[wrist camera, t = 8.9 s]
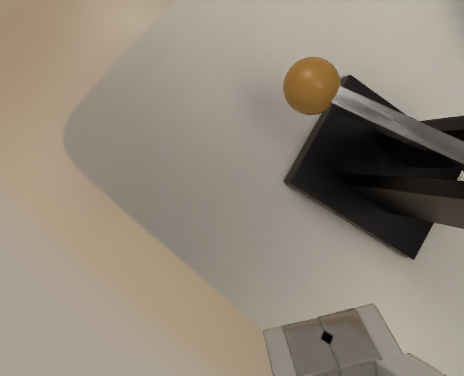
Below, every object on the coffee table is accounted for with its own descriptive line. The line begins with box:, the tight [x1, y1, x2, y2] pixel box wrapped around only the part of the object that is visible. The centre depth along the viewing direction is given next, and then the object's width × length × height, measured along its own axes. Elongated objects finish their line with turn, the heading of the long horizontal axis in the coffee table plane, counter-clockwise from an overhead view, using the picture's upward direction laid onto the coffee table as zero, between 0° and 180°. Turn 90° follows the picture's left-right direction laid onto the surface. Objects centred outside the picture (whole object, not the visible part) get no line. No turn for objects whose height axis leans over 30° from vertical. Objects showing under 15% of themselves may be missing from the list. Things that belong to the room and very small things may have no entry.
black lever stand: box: [284, 75, 464, 260], centre depth 27 cm, size 12×9×14 cm
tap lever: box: [283, 57, 464, 171], centre depth 24 cm, size 14×3×3 cm, turn 59°
